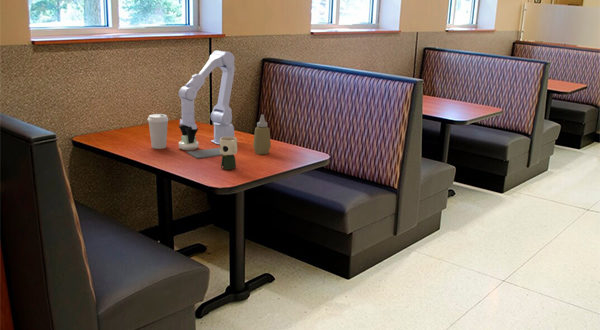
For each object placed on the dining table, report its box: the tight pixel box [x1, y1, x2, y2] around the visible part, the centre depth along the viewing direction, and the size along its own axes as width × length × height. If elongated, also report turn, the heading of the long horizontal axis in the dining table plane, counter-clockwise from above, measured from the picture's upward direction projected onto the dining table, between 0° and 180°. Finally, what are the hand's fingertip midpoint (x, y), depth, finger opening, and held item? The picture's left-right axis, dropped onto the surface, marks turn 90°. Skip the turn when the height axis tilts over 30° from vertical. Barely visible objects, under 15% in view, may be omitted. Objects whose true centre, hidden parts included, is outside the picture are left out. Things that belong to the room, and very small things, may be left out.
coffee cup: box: [147, 113, 169, 150], centre depth 278 cm, size 10×10×15 cm
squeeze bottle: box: [252, 114, 272, 155], centre depth 273 cm, size 8×8×18 cm
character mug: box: [219, 136, 238, 170], centre depth 248 cm, size 11×7×13 cm, turn 45°
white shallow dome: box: [178, 140, 199, 151], centre depth 279 cm, size 9×9×3 cm
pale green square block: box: [180, 135, 197, 144], centre depth 278 cm, size 5×5×3 cm
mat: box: [186, 147, 223, 160], centre depth 271 cm, size 16×11×1 cm
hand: (188, 141), depth 278 cm, fingers closed on pale green square block, 5 cm apart
